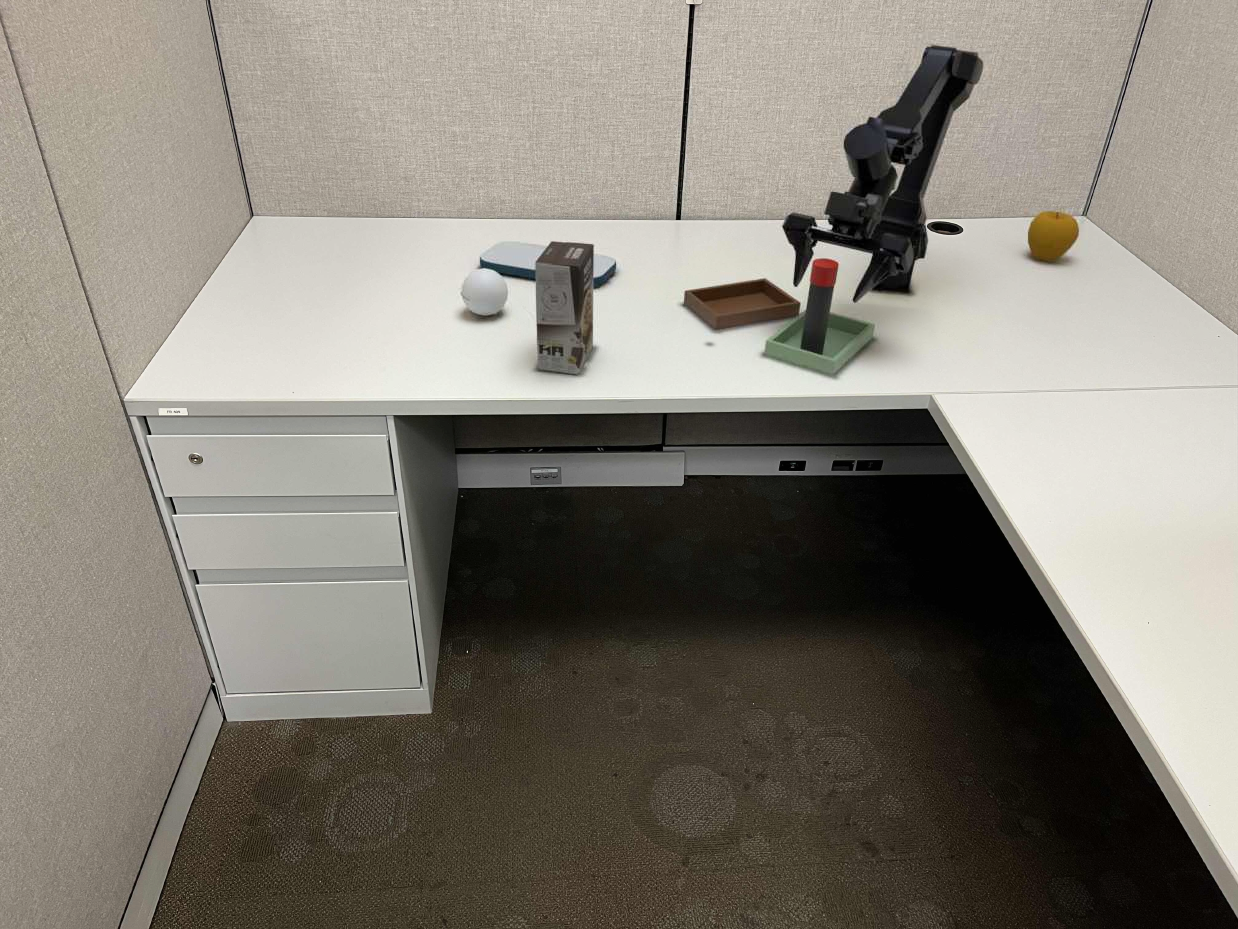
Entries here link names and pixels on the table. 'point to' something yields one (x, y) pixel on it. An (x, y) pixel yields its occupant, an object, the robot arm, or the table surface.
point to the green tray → (838, 348)
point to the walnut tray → (741, 303)
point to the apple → (1052, 235)
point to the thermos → (819, 304)
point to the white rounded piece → (484, 292)
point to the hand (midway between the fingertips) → (823, 293)
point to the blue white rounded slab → (523, 258)
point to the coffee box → (564, 306)
